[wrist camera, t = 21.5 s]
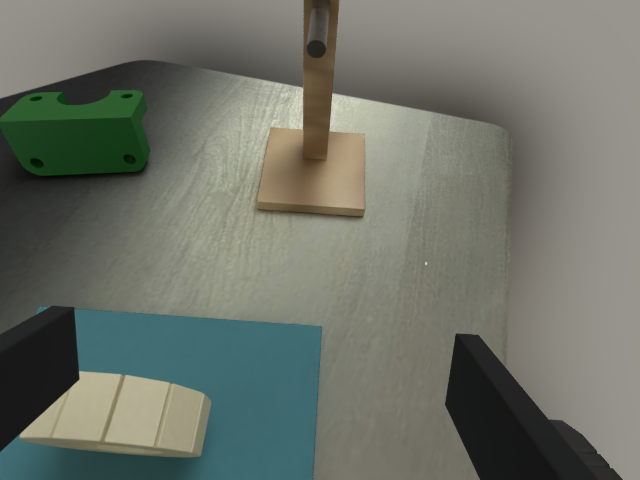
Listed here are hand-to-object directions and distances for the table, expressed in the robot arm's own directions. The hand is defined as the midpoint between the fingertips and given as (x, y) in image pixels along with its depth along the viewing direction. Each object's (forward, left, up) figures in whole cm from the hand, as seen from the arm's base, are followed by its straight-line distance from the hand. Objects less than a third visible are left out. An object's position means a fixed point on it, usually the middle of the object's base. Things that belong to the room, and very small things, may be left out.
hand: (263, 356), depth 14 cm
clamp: (+28, -16, -16) cm, 36 cm away
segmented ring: (+8, +4, -16) cm, 18 cm away
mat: (+8, +4, -16) cm, 18 cm away
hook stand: (+7, -22, -16) cm, 28 cm away
